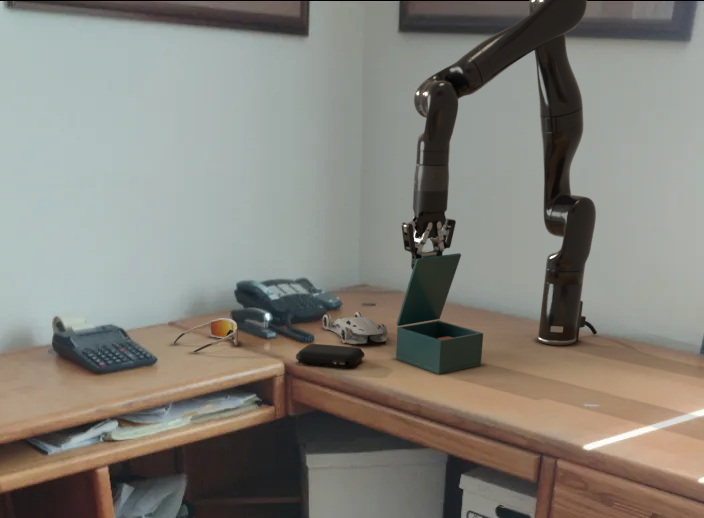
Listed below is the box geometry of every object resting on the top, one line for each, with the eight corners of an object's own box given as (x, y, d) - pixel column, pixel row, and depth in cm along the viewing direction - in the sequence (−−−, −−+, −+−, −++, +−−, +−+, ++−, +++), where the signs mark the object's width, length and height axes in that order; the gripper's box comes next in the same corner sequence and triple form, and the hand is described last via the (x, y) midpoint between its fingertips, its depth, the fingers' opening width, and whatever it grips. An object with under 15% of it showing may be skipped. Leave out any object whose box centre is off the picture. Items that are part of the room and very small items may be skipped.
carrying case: (291, 365, 215) (352, 371, 211) (291, 352, 213) (352, 357, 209) (307, 354, 224) (366, 359, 220) (307, 341, 222) (366, 346, 218)
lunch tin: (480, 365, 216) (483, 333, 212) (438, 374, 209) (440, 341, 206) (437, 351, 226) (438, 320, 223) (396, 359, 220) (396, 327, 216)
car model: (359, 323, 250) (359, 304, 248) (395, 345, 231) (395, 324, 228) (320, 327, 247) (319, 307, 244) (353, 349, 228) (353, 328, 225)
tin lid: (461, 254, 210) (447, 242, 212) (417, 260, 204) (404, 247, 206) (439, 319, 222) (426, 306, 225) (397, 326, 216) (385, 313, 218)
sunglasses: (250, 344, 231) (247, 324, 228) (198, 363, 224) (193, 342, 221) (221, 333, 240) (217, 314, 237) (169, 351, 234) (165, 331, 231)
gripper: (416, 191, 197) (411, 276, 206) (467, 187, 204) (461, 270, 213) (394, 187, 202) (391, 270, 211) (445, 183, 209) (439, 264, 218)
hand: (426, 270), depth 212 cm, fingers closed on tin lid, 5 cm apart
